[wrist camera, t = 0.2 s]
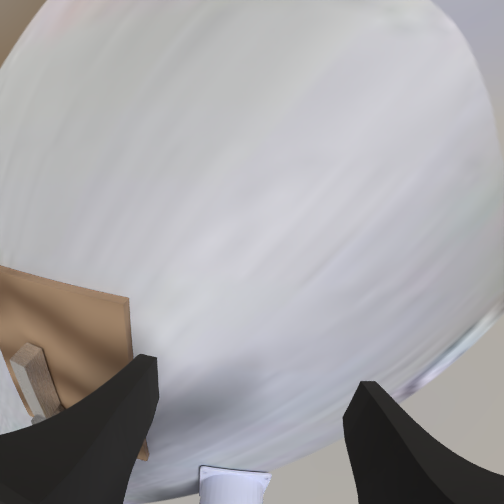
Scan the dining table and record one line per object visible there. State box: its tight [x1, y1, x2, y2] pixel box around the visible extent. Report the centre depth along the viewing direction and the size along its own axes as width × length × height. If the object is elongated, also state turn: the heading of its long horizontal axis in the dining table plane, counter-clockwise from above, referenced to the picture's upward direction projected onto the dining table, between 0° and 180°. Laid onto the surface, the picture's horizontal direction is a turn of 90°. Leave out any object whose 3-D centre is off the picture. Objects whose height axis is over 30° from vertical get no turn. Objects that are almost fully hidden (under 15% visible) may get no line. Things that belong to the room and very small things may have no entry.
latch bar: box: [10, 342, 65, 425], centre depth 20 cm, size 11×3×4 cm, turn 172°
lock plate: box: [0, 265, 149, 461], centre depth 21 cm, size 21×17×4 cm
